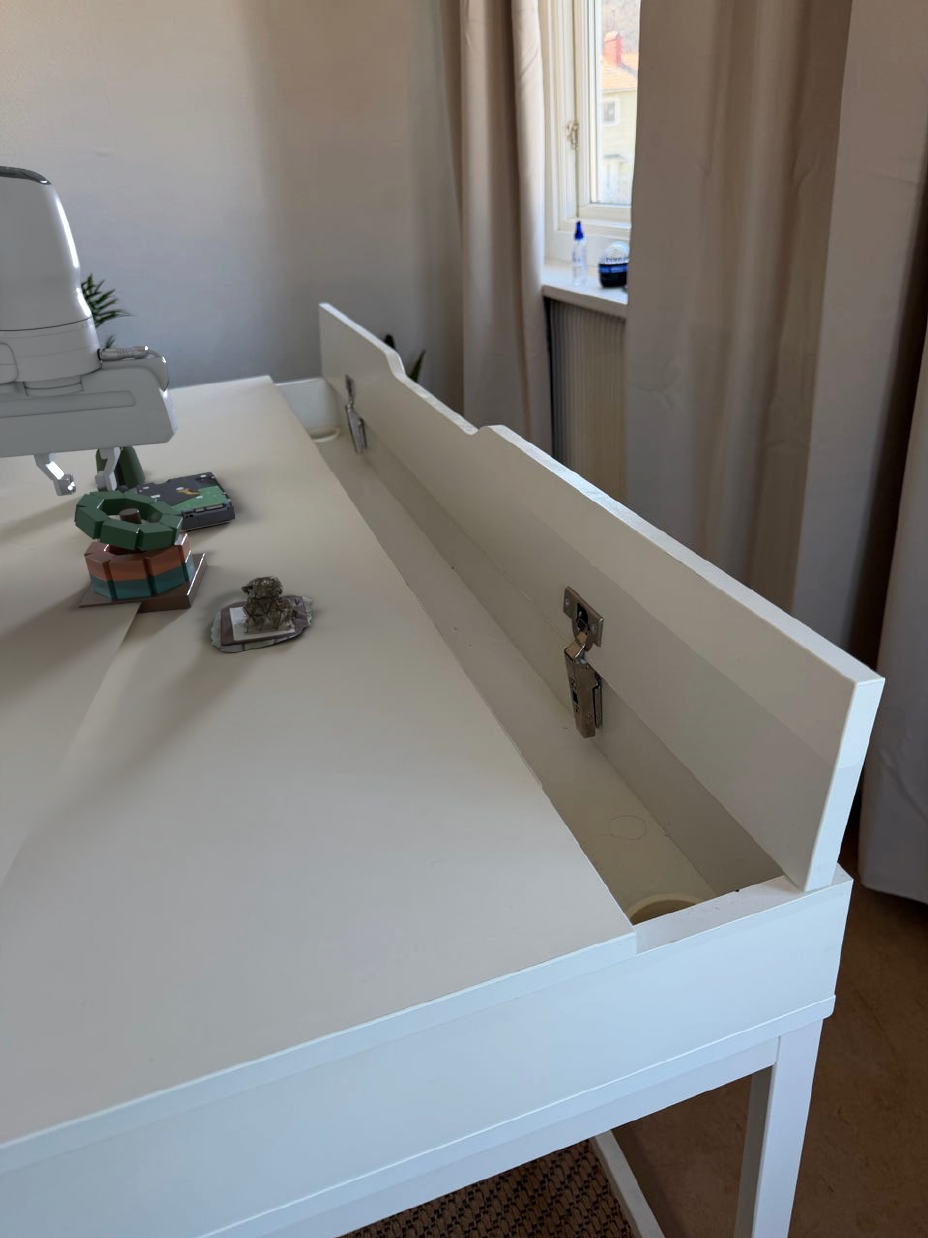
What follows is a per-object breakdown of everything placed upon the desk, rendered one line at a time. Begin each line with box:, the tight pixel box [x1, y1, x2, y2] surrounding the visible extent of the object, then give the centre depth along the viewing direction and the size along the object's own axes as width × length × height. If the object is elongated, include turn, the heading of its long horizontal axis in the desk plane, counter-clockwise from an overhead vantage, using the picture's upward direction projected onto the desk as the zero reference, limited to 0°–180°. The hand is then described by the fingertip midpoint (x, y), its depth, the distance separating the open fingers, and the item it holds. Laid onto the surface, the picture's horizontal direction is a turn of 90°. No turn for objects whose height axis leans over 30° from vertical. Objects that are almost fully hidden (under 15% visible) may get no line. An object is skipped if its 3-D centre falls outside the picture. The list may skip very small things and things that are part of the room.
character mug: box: [95, 446, 146, 492], centre depth 130 cm, size 11×7×13 cm, turn 111°
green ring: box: [73, 490, 183, 551], centre depth 97 cm, size 10×10×2 cm
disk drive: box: [135, 471, 237, 532], centre depth 122 cm, size 10×3×15 cm
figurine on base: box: [210, 575, 313, 653], centre depth 92 cm, size 12×6×11 cm
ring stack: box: [78, 509, 208, 614], centre depth 99 cm, size 11×11×9 cm
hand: (87, 491), depth 96 cm, fingers open, 3 cm apart
